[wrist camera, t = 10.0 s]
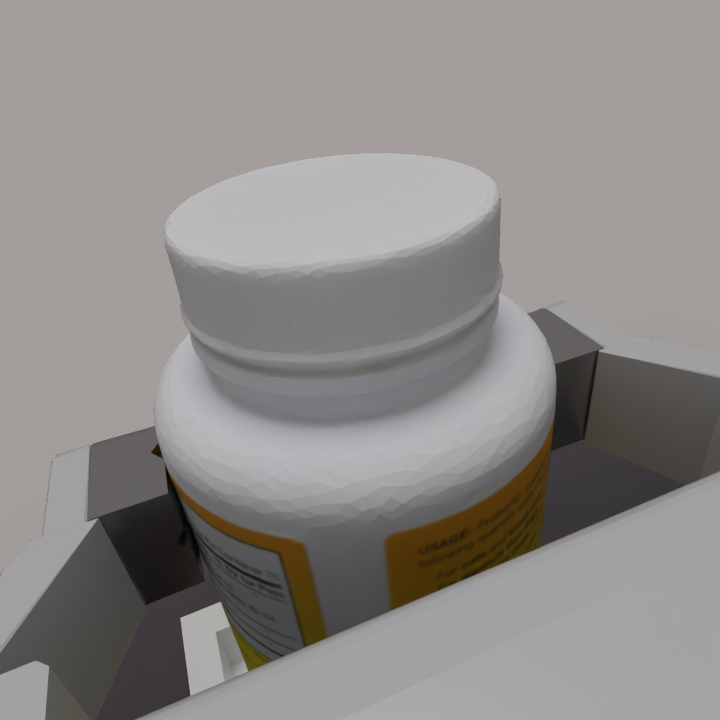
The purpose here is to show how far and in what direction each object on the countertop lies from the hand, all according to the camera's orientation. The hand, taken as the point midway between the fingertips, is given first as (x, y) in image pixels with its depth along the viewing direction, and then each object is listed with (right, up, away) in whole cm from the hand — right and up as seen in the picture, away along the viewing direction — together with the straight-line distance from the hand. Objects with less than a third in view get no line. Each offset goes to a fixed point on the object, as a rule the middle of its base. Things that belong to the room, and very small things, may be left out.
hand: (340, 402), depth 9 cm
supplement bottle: (+1, -6, +3) cm, 7 cm away
